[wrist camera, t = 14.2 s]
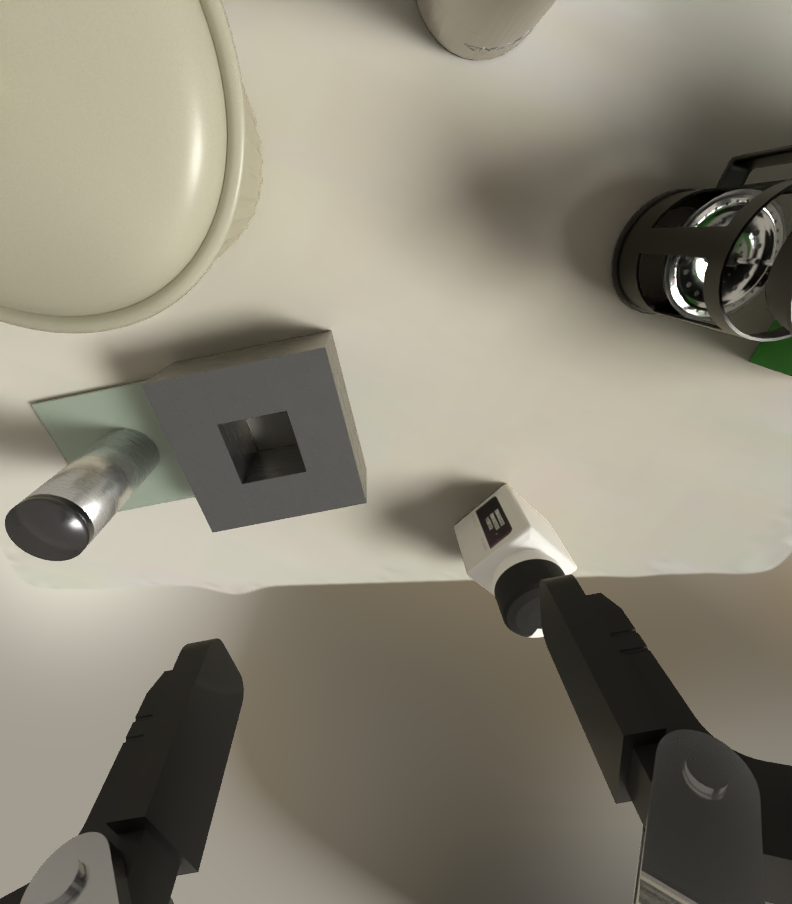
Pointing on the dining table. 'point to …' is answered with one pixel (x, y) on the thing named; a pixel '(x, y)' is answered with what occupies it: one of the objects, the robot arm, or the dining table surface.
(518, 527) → the container
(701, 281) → the french press
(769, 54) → the dining table surface
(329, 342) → the housing
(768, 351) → the green cookware box
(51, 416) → the mat
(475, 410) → the dining table surface
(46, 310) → the canister
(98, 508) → the silver metal cylinder
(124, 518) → the dining table surface
